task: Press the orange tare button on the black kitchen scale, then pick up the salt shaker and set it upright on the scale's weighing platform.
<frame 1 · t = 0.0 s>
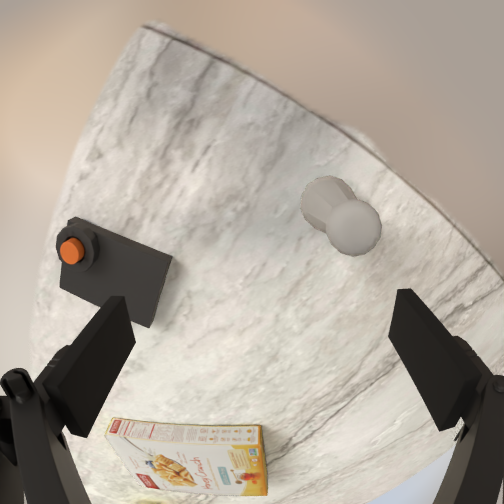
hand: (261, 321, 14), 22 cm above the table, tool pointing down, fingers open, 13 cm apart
salt shaker: (323, 198, 34), on the table
tare button: (72, 251, 32), point 4 cm above the table, slide at 0.1 cm
cereal box: (192, 451, 51), on the table
scale: (113, 270, 37), on the table
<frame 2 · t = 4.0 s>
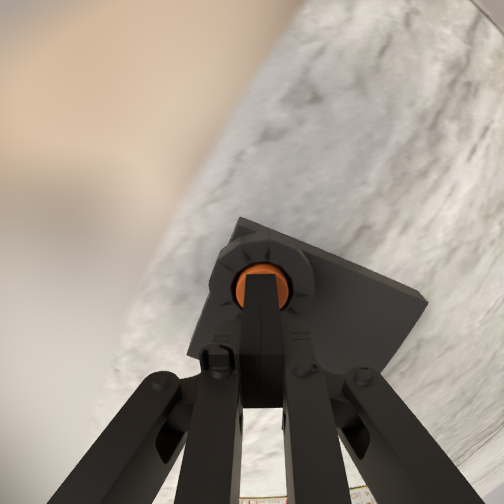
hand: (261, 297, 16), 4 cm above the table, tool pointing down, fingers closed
tare button: (262, 287, 17), point 3 cm above the table, slide at -0.7 cm, touching gripper
scale: (307, 318, 21), on the table
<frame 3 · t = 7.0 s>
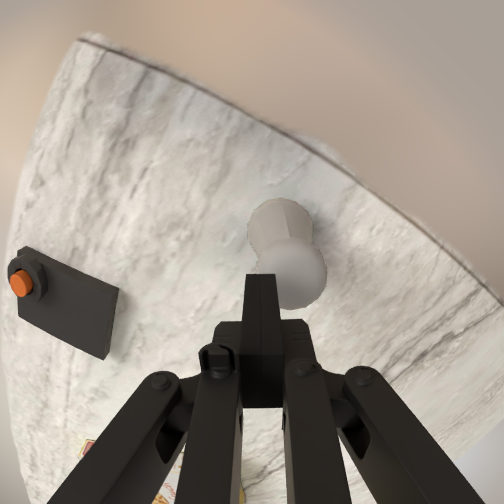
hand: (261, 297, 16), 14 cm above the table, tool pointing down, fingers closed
salt shaker: (278, 223, 30), on the table
tare button: (21, 283, 28), point 4 cm above the table, slide at 0.1 cm
cereal box: (168, 474, 46), on the table
scale: (65, 300, 33), on the table
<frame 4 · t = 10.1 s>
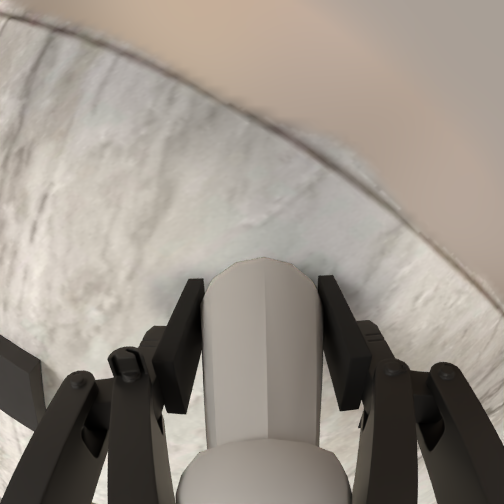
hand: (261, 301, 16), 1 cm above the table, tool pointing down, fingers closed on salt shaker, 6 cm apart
salt shaker: (261, 292, 17), on the table, touching gripper
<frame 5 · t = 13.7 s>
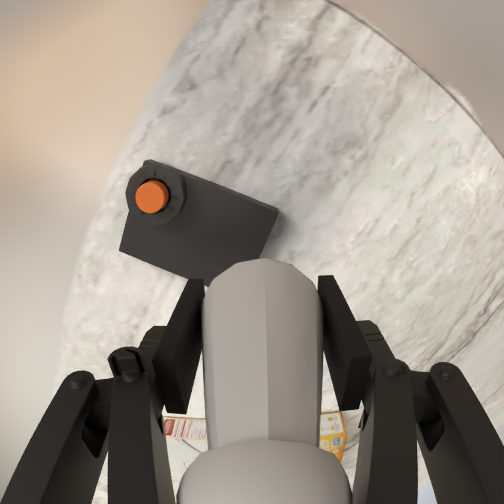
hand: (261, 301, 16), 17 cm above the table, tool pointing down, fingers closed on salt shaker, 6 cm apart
salt shaker: (261, 292, 17), point 16 cm above the table, touching gripper
tare button: (152, 196, 27), point 4 cm above the table, slide at 0.1 cm
cereal box: (254, 450, 46), on the table
scale: (196, 227, 32), on the table
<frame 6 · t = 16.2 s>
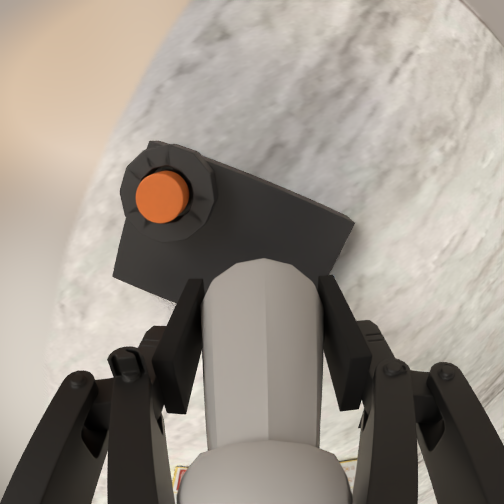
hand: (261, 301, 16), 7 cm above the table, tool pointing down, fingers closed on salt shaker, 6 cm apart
salt shaker: (261, 293, 17), point 6 cm above the table, touching gripper
tare button: (162, 196, 17), point 4 cm above the table, slide at 0.1 cm
cereal box: (283, 494, 35), on the table
scale: (227, 242, 22), on the table
when the fingers open (3 cm above the table, at t = 17.6 s): salt shaker stays where it is, resting on scale.
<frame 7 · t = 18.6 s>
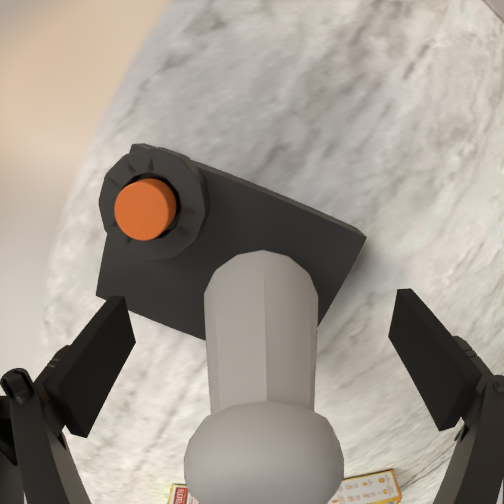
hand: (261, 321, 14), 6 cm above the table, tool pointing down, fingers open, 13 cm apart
salt shaker: (260, 284, 18), point 2 cm above the table, touching scale
tare button: (145, 208, 14), point 4 cm above the table, slide at 0.1 cm
scale: (222, 258, 19), on the table
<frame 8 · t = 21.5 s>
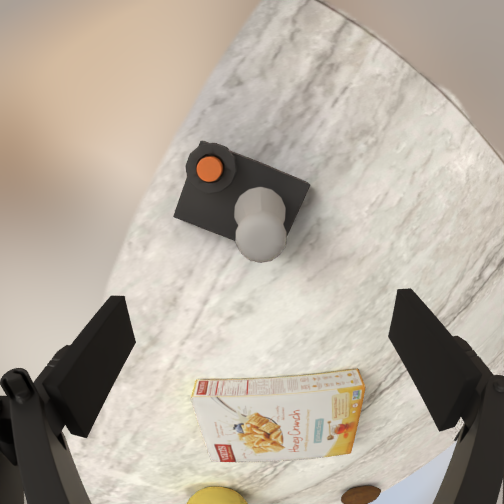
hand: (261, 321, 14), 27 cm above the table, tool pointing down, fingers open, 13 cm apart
potato: (358, 486, 65), on the table
salt shaker: (259, 207, 38), point 2 cm above the table, touching scale
tare button: (209, 168, 34), point 4 cm above the table, slide at 0.1 cm
vase: (219, 492, 66), on the table
cereal box: (278, 412, 52), on the table
scale: (240, 197, 39), on the table
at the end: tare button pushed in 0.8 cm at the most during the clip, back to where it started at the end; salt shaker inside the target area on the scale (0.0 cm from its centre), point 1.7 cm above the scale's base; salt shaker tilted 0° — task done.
